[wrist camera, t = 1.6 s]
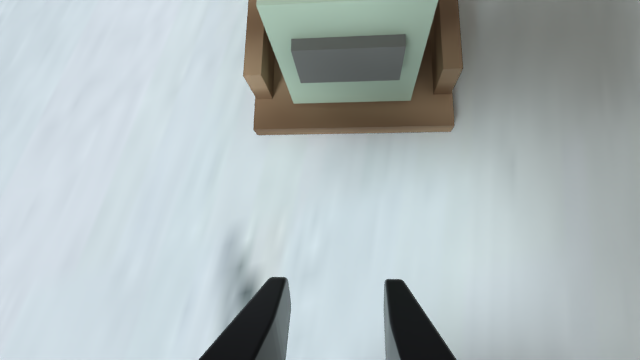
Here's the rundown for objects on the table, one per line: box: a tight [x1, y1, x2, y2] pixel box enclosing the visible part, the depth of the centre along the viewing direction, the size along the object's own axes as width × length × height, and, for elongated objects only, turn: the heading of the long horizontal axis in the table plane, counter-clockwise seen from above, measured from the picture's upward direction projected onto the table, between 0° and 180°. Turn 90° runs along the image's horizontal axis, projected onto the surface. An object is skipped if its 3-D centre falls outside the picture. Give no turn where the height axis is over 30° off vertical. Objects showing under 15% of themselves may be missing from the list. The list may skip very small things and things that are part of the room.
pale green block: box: [256, 0, 438, 104], centre depth 20 cm, size 4×7×9 cm, turn 89°
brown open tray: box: [243, 0, 463, 135], centre depth 24 cm, size 12×12×5 cm
